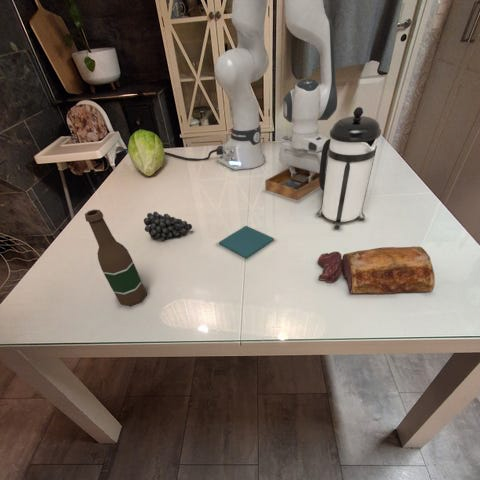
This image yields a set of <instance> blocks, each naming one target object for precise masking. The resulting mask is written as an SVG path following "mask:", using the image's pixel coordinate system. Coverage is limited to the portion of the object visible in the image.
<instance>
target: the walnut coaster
mask: <svg viewBox="0 0 480 480" xmlns="http://www.w3.org/2000/svg"><path fill="white" fill-rule="evenodd" d="M307 177H309V176H308V175H305V174H301V173H300V174H298V175H296V176H294V177H293V178H291V179H290V180H291V181H295V182H298V183H301V187H303V186H305V185H306V184H308V182H307Z"/></svg>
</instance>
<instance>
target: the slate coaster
mask: <svg viewBox="0 0 480 480" xmlns="http://www.w3.org/2000/svg"><path fill="white" fill-rule="evenodd" d="M281 185H284V186H287V187H290V188H293V189H297V190H298V189H300V188H301V183H298V182H295V181H291V180H287V181H285V182H284V183H282V184H281Z"/></svg>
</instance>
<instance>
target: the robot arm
mask: <svg viewBox="0 0 480 480" xmlns="http://www.w3.org/2000/svg"><path fill="white" fill-rule="evenodd" d="M283 1H284V2H283V4H284V7H283V11H284V22H285V25H286V28H287V30H288V31H289V32H290V33H291V34H292V36H293V37H295V38H297V39H300V40H301V41H303V42H307V43H309V44H310V45H313V46H314V47H315V49H317V52H318V55H319V69H320V82H319V81H317V80H316V79H313V78H312V79H311V78H304V79H301V80H298V82H296V83H295V85H294V88H293V89H291V90H289V91H288V92H287V93H286V94H285V96H284V97H283V111H282V114H283V115H282V116H283V118H284V119H285V120H286V121H287V122H289V123H290V124H291V123H292V128H291V136H288V135H284V136H283V137H282V138H281V139H280V147H279V153H278V155H279V157H278V160H279V162H280V163H279V164H282V165H285V166H288V168H289V169H290V172H291V178H293V177H294V176H296V175H297V172H295V168H294V167H297V168H300V169H304V170H308V171H310V174H311V175H310V176H309V177H307V182H308V183H310V182H312V180H313V176H314V175H315V173H319V172H320V163H321V154H322V149H323V145H324V143H325V142H326V141H327V140H328V139H329V138H328V137H326V136H325V135H323V134H322V133H320V132H319V123H318V121H328V120H329V119H330V118H332V116H333V115H334V113H335V112H336V111H337V108H338V91H337V81H336V55H335V53H336V51H335V36H334V26H333V22H332V20H331V18H329V17H328V16H327V14H326V10H325V7H324V6H325V4H324V0H283ZM267 5H268V0H232V6H231V24H232V25H233V28H234V29H235V31H236V37H237V45H236V47H234V48H231V49H228V50H226V51H225V52H223V53H222V54H221V55H220V56H219V57H217V59H216V61H215V63H214V76H215V80H216V83H217V84H218V85H219V87H220V88H222V90H223V91H224V92H225V94H226V96H227V99H228V102H229V106H230V109H231V110H230V111H231V119H232V121H231V122H232V128H229V129H228V132H229V133H231V134H230V137H229V139H228V140H227V141H226V142H225V143H224V144H223V145H217V147H216V149H213V150H211V151H209V153H208V154H207V156H206V157H204V158H195V157H194V158H193V157H187V156H186V157H185V156H181V155H177V154H174V153H172V152H171V153H170V152H168V151H167V152H166V151H164V152H165V155H167V156H172V157H175V158H178V159H182V160H186V161H196V162H197V161H198V162H199V161H207V160H209V159H210V158H211V155H212V154H214V153H216V155H217V156H219V157H218V158H217V162H218V163H219V164H222V165H223V166H226V167H228V168H229V169H231V170H233V171H237V170H248V169H254V168H258V167H260V166H262V165H263V164H264V163H265V159H264V153H263V147H262V138H261V137H262V129H261V127H262V126H261V125H260V106H259V105H260V104H259V101H258V100H257V99H256V98H255V97H254V95H253V91H252V86H251V84H252V83H254V82H257V81H259V80H260V79H261V78H262V77H263V76H264V75H265V74H266V73H267V71H268V69H269V64H270V58H269V54H268V50H267V49H266V47H265V45H266V44H265V21H266V13H267ZM125 152H128V148H124V149H123V150H122V153H125ZM327 157H328V154H327ZM326 165H327V162H326ZM325 173H326V171H325Z"/></svg>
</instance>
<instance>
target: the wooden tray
mask: <svg viewBox="0 0 480 480" xmlns="http://www.w3.org/2000/svg"><path fill="white" fill-rule="evenodd" d="M294 168H295V172H297V175H298V174H300V173H301V174H305V175H308V176H310V175H311V174H310V171H308V170H304V169H300V168H297V167H294ZM290 179H291V172H290V169H289V167H288V168H286V169H284V170H282V171H280V172H279V173H276V174H274V175H272V176H271V177H269V178H267V179H265V180H264V181H265V182H264V183H265V191H267V192H270V193H274V194H277V195H280V196H282V197H285V198H289V199H291V200H294V201H299V200H301V199H302V198H304V197H306V196H307V195H309V194H311V193H313V192H314V191H316V190H317V189H319V188H321V187H320V184H319V173H315V175H314V176H313V180H312V182H310V183H308V184H306V185H305V186H303V187H301V188H300V189H298V190H297V189H293V188H290V187H287V186H284V185H281V184H282V183H284V182H285V181H287V180H290Z"/></svg>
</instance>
